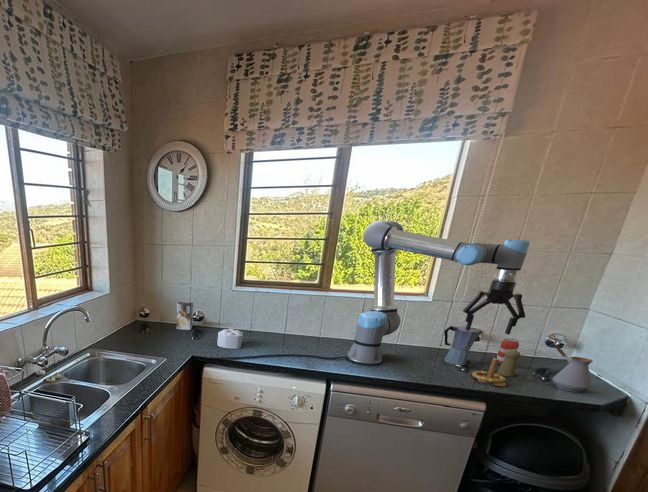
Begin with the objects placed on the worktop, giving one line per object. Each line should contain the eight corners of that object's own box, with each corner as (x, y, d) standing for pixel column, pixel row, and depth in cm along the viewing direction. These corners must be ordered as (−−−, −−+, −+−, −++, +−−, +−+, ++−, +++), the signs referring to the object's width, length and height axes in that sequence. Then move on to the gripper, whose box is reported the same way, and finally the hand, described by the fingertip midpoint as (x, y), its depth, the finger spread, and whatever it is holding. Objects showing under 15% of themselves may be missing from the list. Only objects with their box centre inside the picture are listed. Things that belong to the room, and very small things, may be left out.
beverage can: (492, 362, 196) (500, 338, 192) (500, 360, 198) (508, 337, 194) (506, 366, 191) (514, 342, 186) (514, 364, 193) (523, 340, 189)
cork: (514, 373, 182) (523, 350, 178) (514, 377, 177) (522, 353, 173) (497, 370, 185) (505, 347, 181) (496, 374, 181) (504, 350, 177)
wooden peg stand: (478, 383, 171) (486, 360, 167) (472, 376, 179) (479, 354, 175) (505, 386, 168) (513, 363, 164) (497, 379, 175) (505, 357, 172)
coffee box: (192, 328, 253) (193, 302, 248) (190, 330, 248) (191, 304, 242) (178, 326, 256) (179, 301, 250) (175, 329, 250) (176, 303, 245)
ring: (476, 381, 170) (477, 377, 169) (467, 372, 180) (468, 369, 179) (509, 385, 166) (510, 381, 166) (498, 375, 176) (499, 372, 175)
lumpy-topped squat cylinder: (240, 349, 213) (242, 333, 209) (216, 347, 216) (217, 331, 212) (241, 343, 222) (243, 328, 219) (218, 342, 225) (219, 327, 222)
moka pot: (477, 368, 188) (491, 326, 181) (440, 365, 191) (452, 324, 184) (466, 361, 197) (479, 321, 190) (431, 359, 200) (443, 320, 193)
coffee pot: (596, 394, 160) (613, 359, 155) (564, 393, 162) (579, 357, 156) (554, 375, 180) (567, 343, 174) (526, 374, 181) (538, 342, 176)
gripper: (469, 279, 162) (453, 330, 170) (548, 284, 152) (528, 337, 160) (464, 276, 168) (449, 326, 176) (540, 281, 159) (520, 333, 167)
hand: (486, 331), depth 168 cm, fingers open, 13 cm apart
